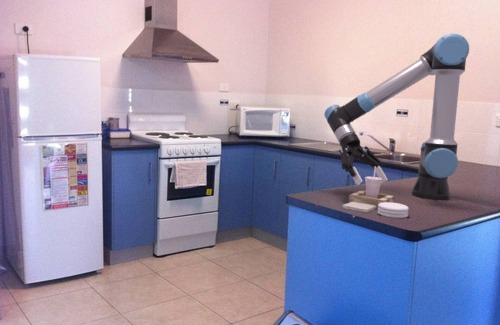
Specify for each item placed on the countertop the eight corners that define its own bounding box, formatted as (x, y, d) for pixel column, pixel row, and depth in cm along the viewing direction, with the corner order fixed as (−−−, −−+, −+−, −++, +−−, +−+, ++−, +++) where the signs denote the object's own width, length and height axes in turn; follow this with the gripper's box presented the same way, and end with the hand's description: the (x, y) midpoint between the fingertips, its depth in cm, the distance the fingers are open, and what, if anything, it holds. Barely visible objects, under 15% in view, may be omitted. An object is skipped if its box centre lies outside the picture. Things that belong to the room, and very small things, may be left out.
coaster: (395, 220, 150) (396, 209, 150) (371, 213, 158) (372, 203, 158) (413, 217, 156) (414, 207, 156) (389, 210, 164) (390, 200, 164)
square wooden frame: (360, 197, 183) (361, 190, 182) (393, 203, 176) (394, 195, 175) (348, 202, 172) (349, 194, 172) (382, 208, 165) (383, 200, 165)
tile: (351, 204, 170) (352, 201, 170) (375, 208, 165) (376, 205, 165) (342, 208, 162) (342, 205, 162) (367, 212, 157) (367, 209, 157)
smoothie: (382, 203, 175) (385, 167, 173) (376, 205, 169) (380, 168, 168) (365, 200, 178) (369, 164, 176) (359, 202, 173) (363, 166, 171)
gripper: (364, 144, 192) (388, 186, 182) (319, 144, 179) (342, 189, 168) (375, 133, 187) (401, 175, 177) (329, 132, 174) (354, 178, 163)
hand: (372, 182), depth 172 cm, fingers open, 13 cm apart
